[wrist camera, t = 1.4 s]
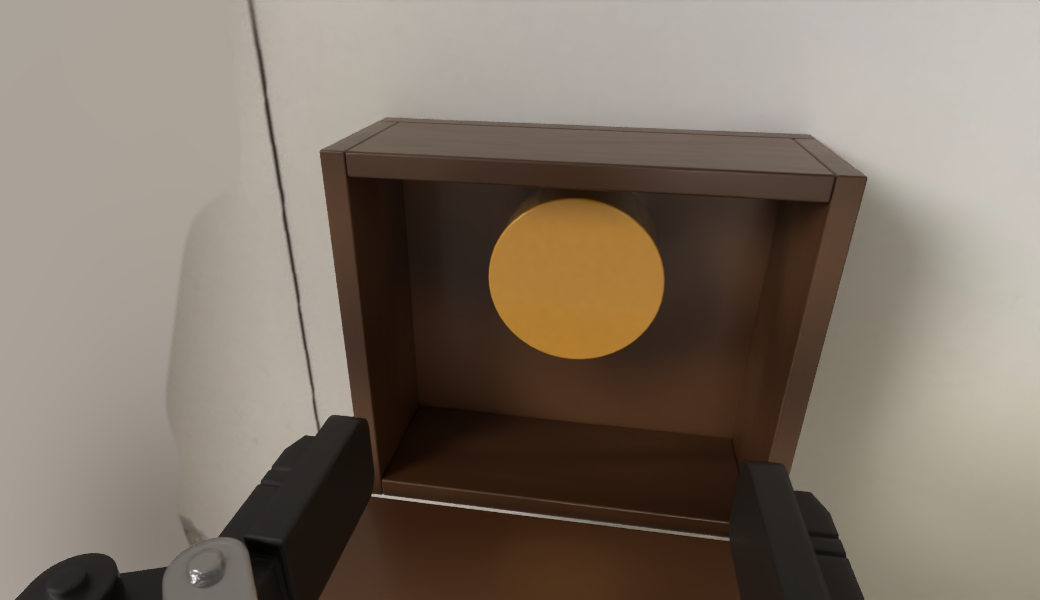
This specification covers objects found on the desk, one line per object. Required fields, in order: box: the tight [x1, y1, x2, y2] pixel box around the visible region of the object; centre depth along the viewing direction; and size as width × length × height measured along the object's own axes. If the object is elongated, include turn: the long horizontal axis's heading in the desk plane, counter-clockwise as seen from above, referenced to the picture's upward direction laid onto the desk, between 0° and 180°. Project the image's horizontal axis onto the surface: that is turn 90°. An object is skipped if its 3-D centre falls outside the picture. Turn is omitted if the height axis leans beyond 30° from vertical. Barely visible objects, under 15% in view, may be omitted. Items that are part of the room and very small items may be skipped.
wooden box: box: [320, 118, 867, 538], centre depth 23 cm, size 14×16×6 cm
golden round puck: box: [488, 187, 665, 359], centre depth 23 cm, size 6×6×3 cm
